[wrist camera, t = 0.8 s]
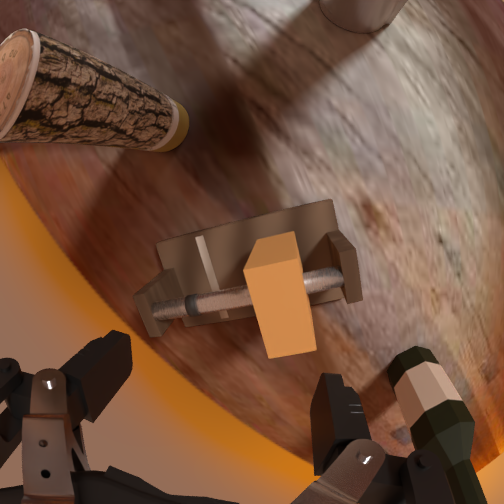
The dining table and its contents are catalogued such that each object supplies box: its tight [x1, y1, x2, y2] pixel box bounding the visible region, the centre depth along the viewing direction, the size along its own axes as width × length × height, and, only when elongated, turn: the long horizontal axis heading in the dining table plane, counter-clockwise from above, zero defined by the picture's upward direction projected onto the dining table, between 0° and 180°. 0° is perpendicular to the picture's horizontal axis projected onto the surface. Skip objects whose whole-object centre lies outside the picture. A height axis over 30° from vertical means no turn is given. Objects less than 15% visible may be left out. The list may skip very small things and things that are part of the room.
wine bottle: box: [387, 346, 487, 504], centre depth 22 cm, size 8×8×30 cm
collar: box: [243, 231, 316, 358], centre depth 26 cm, size 4×8×10 cm, turn 14°
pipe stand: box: [133, 199, 363, 337], centre depth 30 cm, size 22×12×10 cm, turn 104°
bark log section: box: [0, 29, 189, 152], centre depth 20 cm, size 7×7×25 cm
